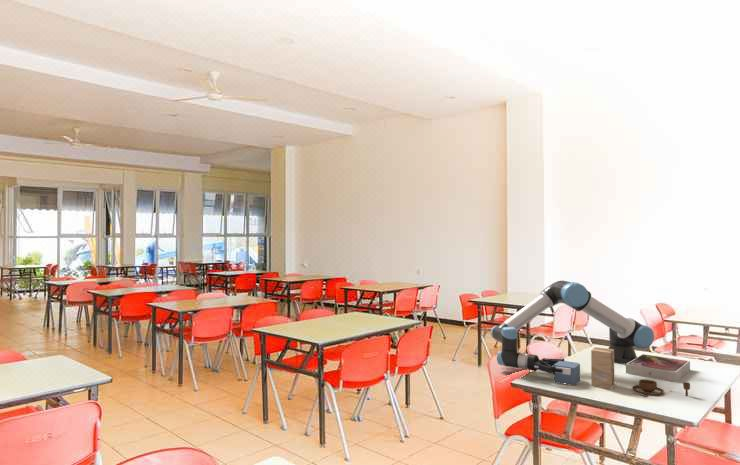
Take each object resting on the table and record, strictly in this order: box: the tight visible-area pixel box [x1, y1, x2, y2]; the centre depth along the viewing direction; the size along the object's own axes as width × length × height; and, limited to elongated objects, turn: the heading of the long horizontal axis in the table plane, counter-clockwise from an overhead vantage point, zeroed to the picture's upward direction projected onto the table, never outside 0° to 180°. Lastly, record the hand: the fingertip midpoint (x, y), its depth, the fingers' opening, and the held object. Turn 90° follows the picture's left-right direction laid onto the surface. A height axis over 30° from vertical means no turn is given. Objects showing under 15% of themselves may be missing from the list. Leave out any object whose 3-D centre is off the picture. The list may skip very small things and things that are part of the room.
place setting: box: [631, 379, 691, 398], centre depth 215 cm, size 18×20×6 cm
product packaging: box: [625, 353, 691, 383], centre depth 250 cm, size 22×28×5 cm
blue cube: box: [553, 360, 581, 386], centre depth 234 cm, size 9×9×8 cm
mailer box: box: [590, 346, 615, 390], centre depth 228 cm, size 8×8×16 cm
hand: (574, 368), depth 232 cm, fingers open, 13 cm apart
